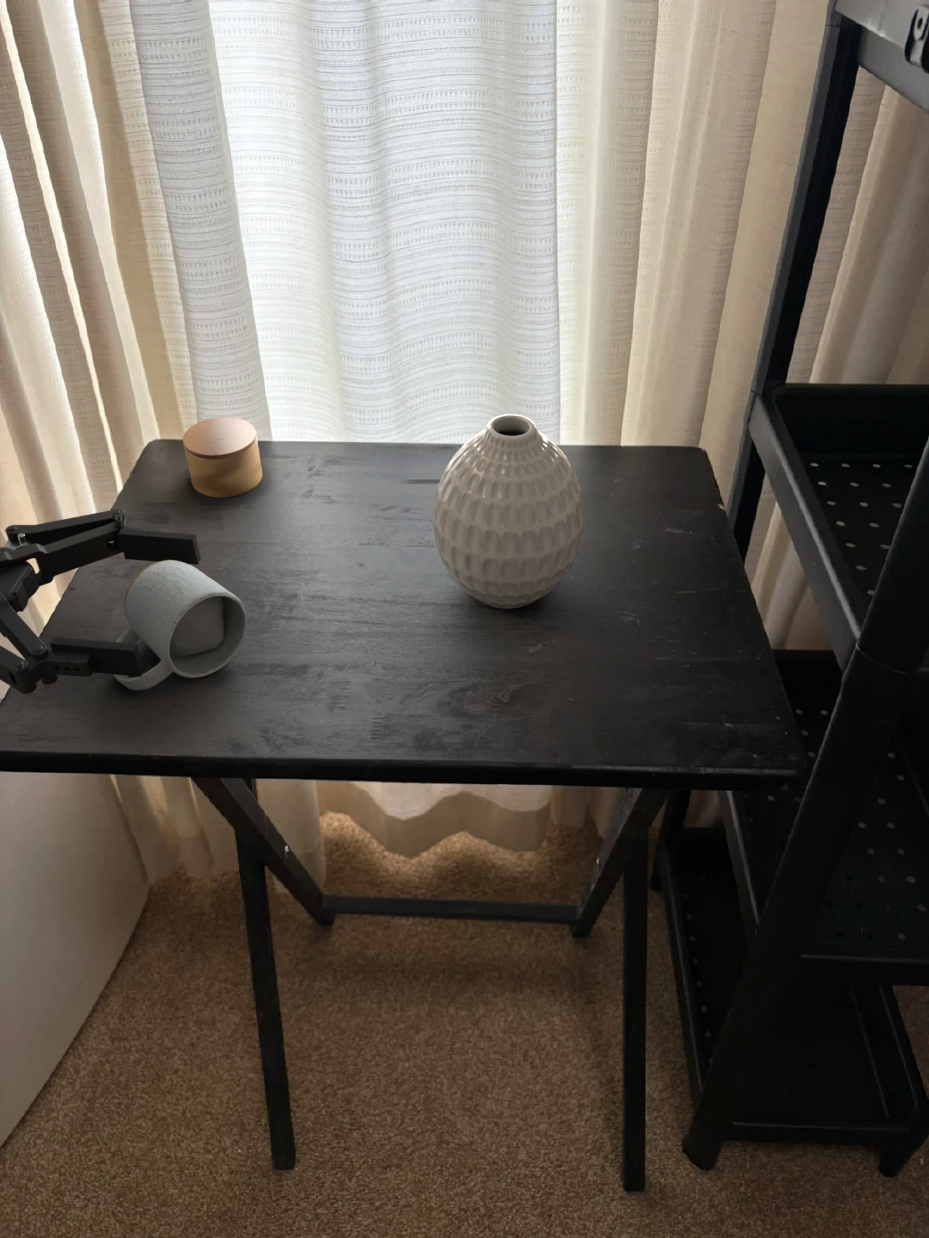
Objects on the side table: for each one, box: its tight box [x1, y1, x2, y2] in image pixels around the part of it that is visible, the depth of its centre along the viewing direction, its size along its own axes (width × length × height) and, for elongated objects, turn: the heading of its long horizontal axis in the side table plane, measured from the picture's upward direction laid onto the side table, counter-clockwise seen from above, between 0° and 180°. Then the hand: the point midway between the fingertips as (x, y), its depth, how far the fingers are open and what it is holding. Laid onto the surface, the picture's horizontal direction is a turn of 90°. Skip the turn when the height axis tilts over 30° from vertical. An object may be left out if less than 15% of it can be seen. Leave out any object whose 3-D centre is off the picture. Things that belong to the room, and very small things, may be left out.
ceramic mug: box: [112, 560, 249, 691], centre depth 84 cm, size 11×8×8 cm
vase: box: [432, 413, 585, 610], centre depth 87 cm, size 13×13×17 cm
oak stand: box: [182, 416, 263, 498], centre depth 105 cm, size 7×7×5 cm
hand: (170, 601), depth 82 cm, fingers open, 13 cm apart
